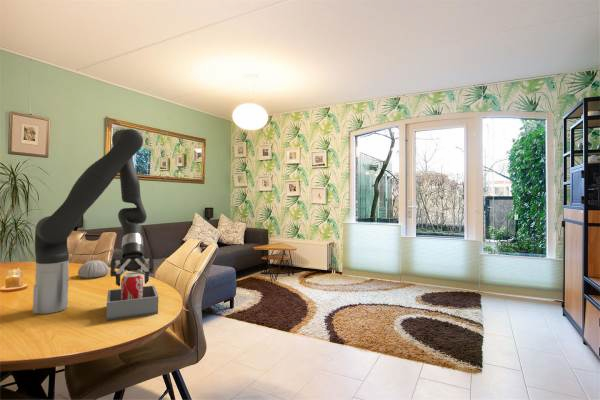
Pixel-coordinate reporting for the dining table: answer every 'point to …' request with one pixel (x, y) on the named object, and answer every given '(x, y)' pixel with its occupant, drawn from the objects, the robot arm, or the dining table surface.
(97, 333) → the dining table surface
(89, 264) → the sea urchin shell
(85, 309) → the dining table surface
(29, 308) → the dining table surface
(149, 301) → the bin
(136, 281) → the soda can
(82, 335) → the dining table surface
